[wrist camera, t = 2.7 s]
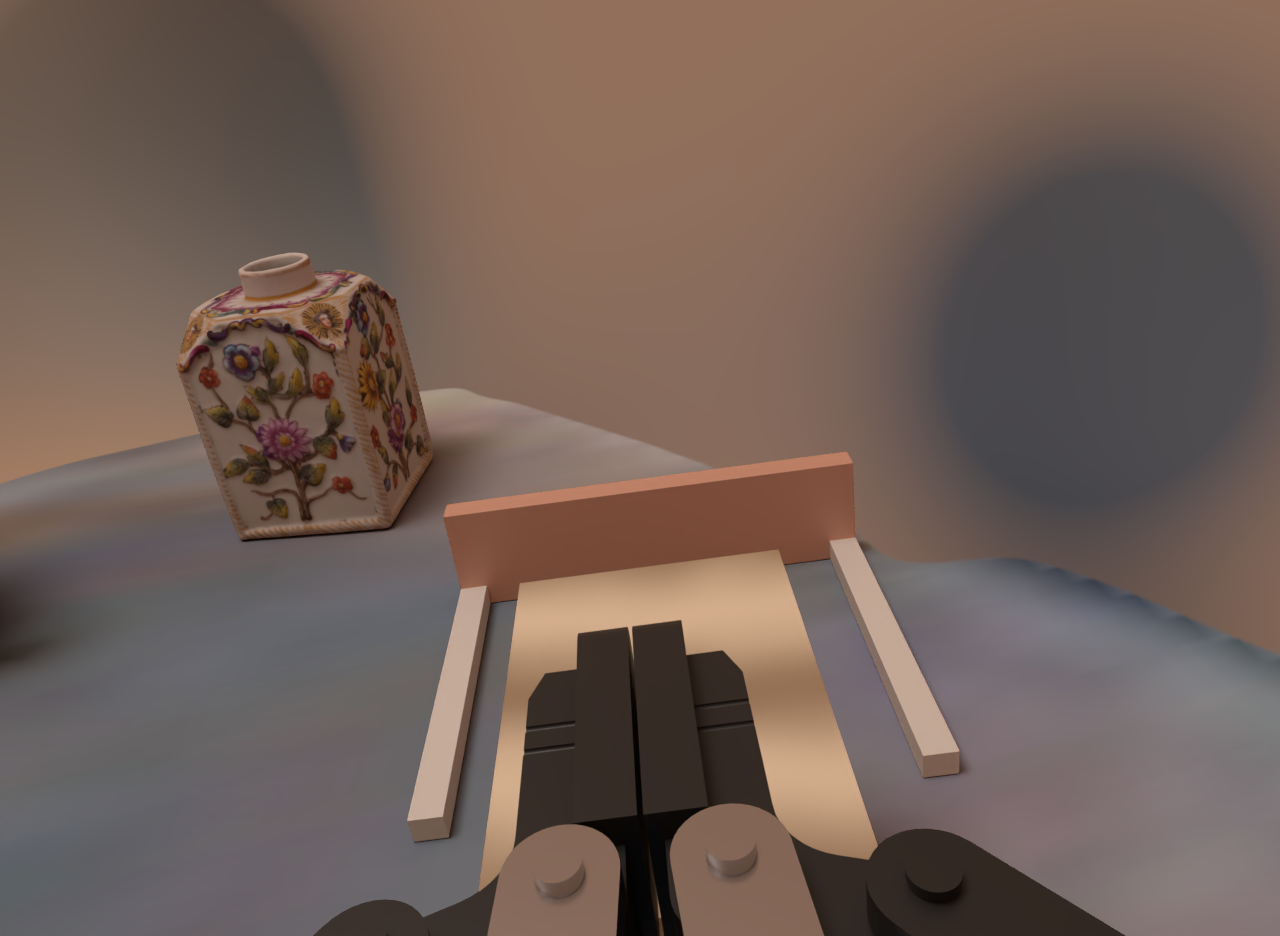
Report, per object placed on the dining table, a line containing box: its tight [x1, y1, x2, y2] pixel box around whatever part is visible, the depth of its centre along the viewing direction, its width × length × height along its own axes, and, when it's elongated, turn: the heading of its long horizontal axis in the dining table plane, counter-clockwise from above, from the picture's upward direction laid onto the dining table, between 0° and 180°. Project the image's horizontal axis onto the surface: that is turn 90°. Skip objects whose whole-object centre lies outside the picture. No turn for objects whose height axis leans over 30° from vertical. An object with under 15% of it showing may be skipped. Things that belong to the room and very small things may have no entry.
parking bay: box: [407, 452, 960, 842], centre depth 47 cm, size 19×23×6 cm
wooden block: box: [478, 549, 878, 936], centre depth 29 cm, size 14×9×13 cm, turn 2°
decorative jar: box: [176, 253, 433, 540], centre depth 67 cm, size 12×12×18 cm
